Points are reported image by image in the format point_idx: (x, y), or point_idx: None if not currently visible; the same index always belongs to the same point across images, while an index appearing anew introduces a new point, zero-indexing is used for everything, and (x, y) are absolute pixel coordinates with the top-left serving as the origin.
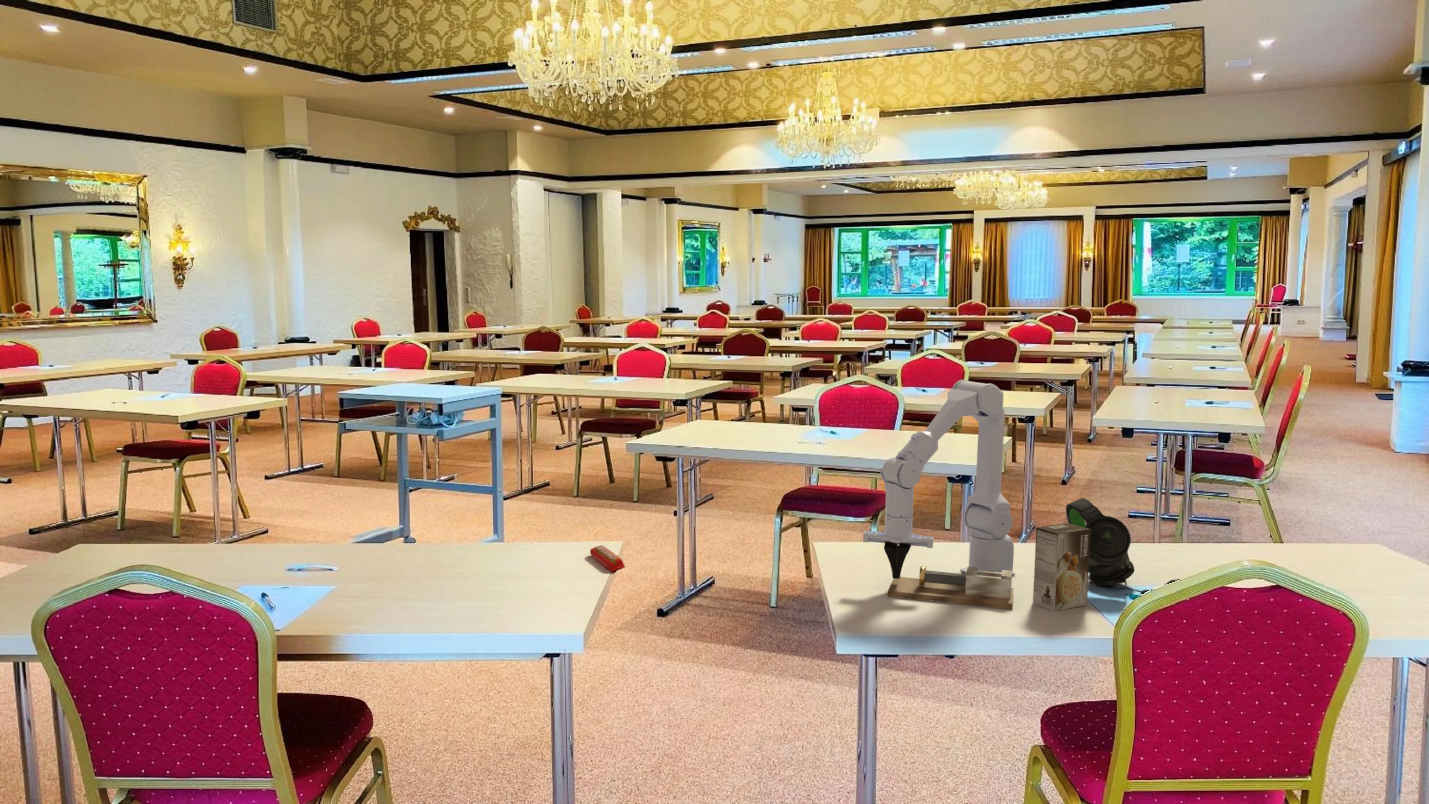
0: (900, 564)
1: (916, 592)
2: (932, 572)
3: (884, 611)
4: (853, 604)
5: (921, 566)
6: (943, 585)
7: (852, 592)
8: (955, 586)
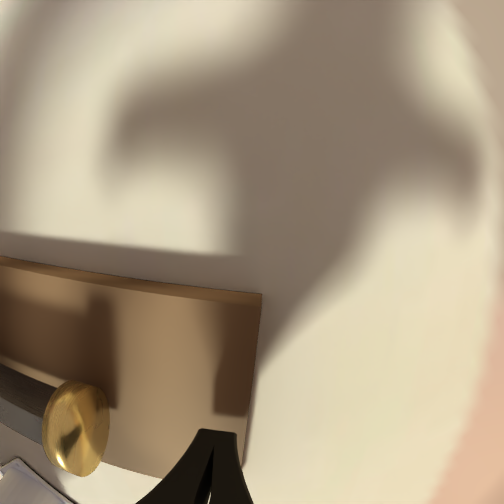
0: (170, 487)
1: (102, 306)
2: (29, 424)
3: (268, 32)
4: (431, 116)
5: (66, 466)
6: None
7: (434, 312)
8: None
